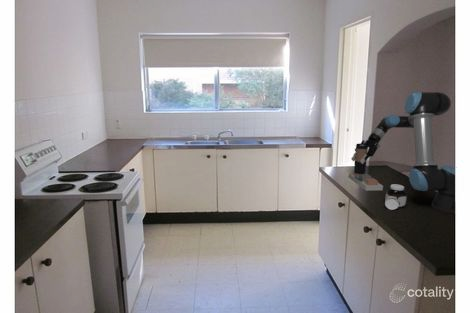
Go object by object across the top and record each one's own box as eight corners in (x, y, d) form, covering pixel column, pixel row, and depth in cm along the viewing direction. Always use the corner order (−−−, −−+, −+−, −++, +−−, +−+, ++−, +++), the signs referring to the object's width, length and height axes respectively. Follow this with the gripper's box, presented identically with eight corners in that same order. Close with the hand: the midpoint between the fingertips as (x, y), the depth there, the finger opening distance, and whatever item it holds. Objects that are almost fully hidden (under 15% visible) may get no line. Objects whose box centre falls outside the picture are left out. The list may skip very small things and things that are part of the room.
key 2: (377, 185, 216) (378, 181, 216) (368, 185, 216) (368, 181, 215) (373, 182, 222) (373, 178, 222) (364, 182, 222) (364, 178, 221)
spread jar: (401, 203, 193) (404, 184, 191) (409, 211, 182) (412, 191, 180) (379, 202, 195) (381, 183, 192) (386, 210, 184) (388, 190, 181)
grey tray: (382, 190, 215) (383, 185, 214) (365, 190, 215) (366, 185, 214) (363, 177, 242) (363, 172, 242) (348, 177, 242) (348, 172, 241)
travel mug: (352, 173, 235) (355, 145, 230) (354, 170, 241) (357, 143, 236) (364, 174, 231) (367, 146, 226) (366, 172, 238) (368, 144, 233)
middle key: (371, 181, 225) (371, 176, 224) (362, 181, 225) (362, 177, 224) (367, 178, 231) (367, 174, 230) (358, 178, 231) (358, 174, 230)
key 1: (365, 178, 234) (365, 174, 233) (356, 178, 234) (357, 174, 233) (361, 175, 240) (361, 171, 239) (353, 175, 240) (353, 171, 239)
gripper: (390, 142, 229) (370, 168, 226) (367, 137, 246) (348, 161, 243) (386, 135, 225) (365, 161, 222) (362, 130, 243) (343, 154, 240)
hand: (356, 161), depth 233 cm, fingers closed on travel mug, 7 cm apart
